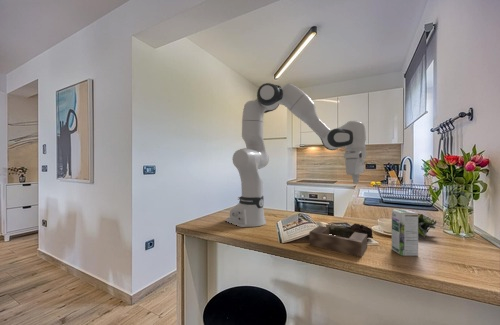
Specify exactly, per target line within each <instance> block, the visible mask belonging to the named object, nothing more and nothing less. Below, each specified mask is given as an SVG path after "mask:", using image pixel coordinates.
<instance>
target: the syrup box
mask: <svg viewBox="0 0 500 325" xmlns="http://www.w3.org/2000/svg"><path fill="white" fill-rule="evenodd" d="M418 213H419V212H414V211H411V210H408V209H403V208H401V209H400V208H395V209H391V250H392V251H394V252H396V253H397V254H398V255H400V257H401V256H403V257H405V256H406V257H415V256H416V257H418V256H419V233H418Z"/></svg>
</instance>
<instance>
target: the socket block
mask: <svg viewBox="0 0 500 325" xmlns="http://www.w3.org/2000/svg"><path fill="white" fill-rule="evenodd" d="M308 234H309V239H308V240H309V243H308V244H309V246H311V247H312V246H313V247H315V248H321V249H325V250H328V251H332V252H333V251H334V252H336V253H337V252H338V253H342V254H346V255H350V256H354V257H357V258H362V257H363V256H364V254H365V252H366V251H367V249H368V238H367V234H363V233H357V232H354V233H353V234H352V235H351V237H345V236H334V235H329V227H326V226H322V225H318V226H317V227H315V228H313V229H312V230H310V231H309V232H308Z"/></svg>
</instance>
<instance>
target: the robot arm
mask: <svg viewBox="0 0 500 325" xmlns="http://www.w3.org/2000/svg"><path fill="white" fill-rule="evenodd" d="M256 97H257V98H256V99H252V100H249V101H247V102H245V104H244V106H243V109H242V110H243V111H242V118H241V138H242V139H243V141H244V143H245V146H246V147H244V148H239V149H237V150H236V151H235V152H234V153H233V155H232V157H231V158H232V163H233V164H232V165H234V167H235V168H236V169H237V171H238V173H239V177H240V178H239V179H240V183H241V184H240V185H241V196H238V197H237V200H239V202H238V203H237V204H236V205H235V206H233V207H232V208H231V209H230V210H229V217H227V218H225V220H224V222H225V221H227V222H226V223H228V222H229V223H228V224H231V223H232V224H231V225H234V226H236V225H237V227H239V228H247V227H249V228H250V227H251V228H252V227H253V228H254V227H260V226H264V225H266V224H267V221H266V218H265V217H266V216H265V211H264V204H265V203H264V195H263V192H264V191H263V190H264V189H263V184H264V182H263V179H262V178H261V176H260V173H259V171H258V170H261V169H263V168H265V167H267V165H268V164H269V161H270V158H269V155H268V152H267V150H266V146H265V140H264V114H267V113H269V112H274V111H275V110H277V109H278V107H279V106H280V105H281V106H283V107H285V108H287V109H288V111H290V112H291V114H293V115H294V116H296V117H297V118H298V119H299V120H301V121H302V122H303V123H304V124H306V125H307V126H308V127H309V128H310V129H311V130H312V131H313V132H314V133H315V134H316V135H317V136H318V137H319V139H320V140H321V143H322V145H323V147H324V148H325V149H326V150H329V151H335V150H338V149H341V148H342V147H343V148H345V153H344V154H343V158H344V159H345V160H344V161H345V171H346V175H347V176H349V175H350V176H351V177H352V184H354V185H355V184H359V180H360V175H361V174H364V173H365V162H364V159H367V147H366V140H367V137H366V127H365V123H363V122H361V121H357V120H350V121H347V122H345V123H344V124H342V125H340V126H339V127H336V128H333V129H330V128H329V127H328V126H327V125H326V124H325V123H324V122H323V121H322V120H321V119H320V118H319V116H318V114H317V111H316V105H315V103H314V101H313V100H312V98H311V97H310V96H309V95H308V94H307V93H306V92H304V91H303V90H302V89H300V88H299V87H298V86H296V85H294V84H292V83H286V84H285V85H283V86H281V85H279V84H278V85H277V84H274V83H271V82H267V83H263V84H261V85H260V86H259V88H258V89H257V92H256Z"/></svg>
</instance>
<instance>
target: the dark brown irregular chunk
mask: <svg viewBox="0 0 500 325" xmlns="http://www.w3.org/2000/svg"><path fill="white" fill-rule="evenodd" d="M325 227H329V234H332V235H340V236H339V237H347V236H348V237H347V238H350V237H351V235H352V234H353V233H354V232H357V233H363V234H367V239H374V237H373V230H372V228H370V227H368V226H366V225H364V224H360V223H353V224H352V225H351V226H344V225H333V224H325Z"/></svg>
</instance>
